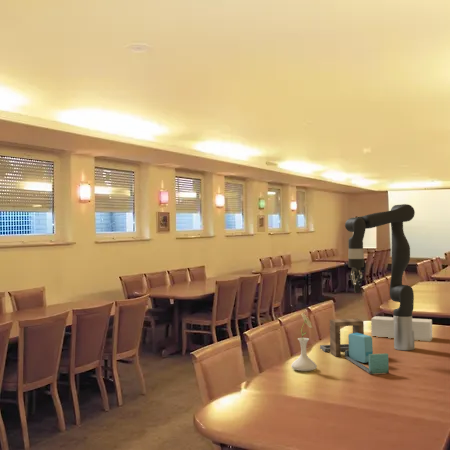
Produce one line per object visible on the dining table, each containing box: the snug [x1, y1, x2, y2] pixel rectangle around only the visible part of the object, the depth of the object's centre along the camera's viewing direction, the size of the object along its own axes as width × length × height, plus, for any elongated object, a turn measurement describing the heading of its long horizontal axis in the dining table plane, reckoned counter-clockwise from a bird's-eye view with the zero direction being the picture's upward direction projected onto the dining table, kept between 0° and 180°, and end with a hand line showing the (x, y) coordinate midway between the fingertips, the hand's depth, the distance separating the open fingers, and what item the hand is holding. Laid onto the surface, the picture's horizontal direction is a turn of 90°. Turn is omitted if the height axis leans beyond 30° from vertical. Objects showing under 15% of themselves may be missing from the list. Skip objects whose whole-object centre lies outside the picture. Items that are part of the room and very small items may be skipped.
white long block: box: [370, 315, 433, 342], centre depth 294 cm, size 32×11×11 cm, turn 63°
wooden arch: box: [329, 318, 365, 358], centre depth 255 cm, size 15×8×17 cm, turn 98°
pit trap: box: [319, 343, 349, 353], centre depth 266 cm, size 18×8×2 cm, turn 98°
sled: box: [344, 350, 389, 375], centre depth 232 cm, size 8×30×8 cm, turn 8°
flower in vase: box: [290, 312, 318, 372], centre depth 228 cm, size 13×11×25 cm
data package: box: [347, 332, 374, 364], centre depth 240 cm, size 12×4×12 cm, turn 25°
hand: (356, 292), depth 254 cm, fingers closed
